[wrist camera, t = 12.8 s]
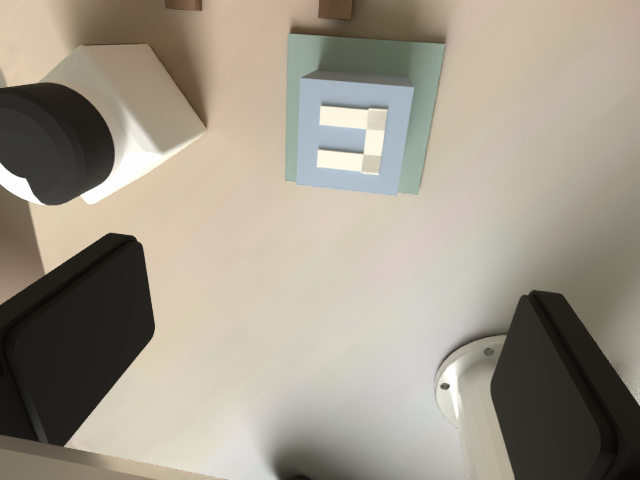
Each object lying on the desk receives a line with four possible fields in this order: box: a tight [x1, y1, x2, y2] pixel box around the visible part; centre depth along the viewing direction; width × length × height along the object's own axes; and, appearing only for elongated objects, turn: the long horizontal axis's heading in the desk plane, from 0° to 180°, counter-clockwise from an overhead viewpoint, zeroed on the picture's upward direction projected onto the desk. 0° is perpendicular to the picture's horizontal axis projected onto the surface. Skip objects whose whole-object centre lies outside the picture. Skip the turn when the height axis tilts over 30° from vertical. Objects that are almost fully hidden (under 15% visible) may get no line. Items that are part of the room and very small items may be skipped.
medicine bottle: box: [0, 43, 206, 205], centre depth 25 cm, size 7×7×12 cm
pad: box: [285, 34, 445, 195], centre depth 28 cm, size 10×10×1 cm
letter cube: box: [296, 70, 414, 196], centre depth 25 cm, size 6×6×6 cm
